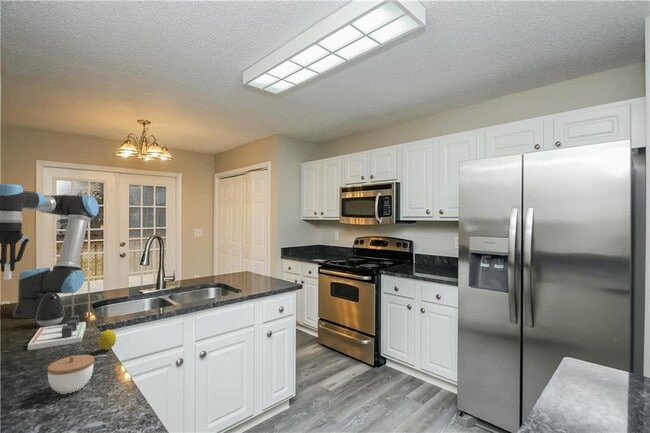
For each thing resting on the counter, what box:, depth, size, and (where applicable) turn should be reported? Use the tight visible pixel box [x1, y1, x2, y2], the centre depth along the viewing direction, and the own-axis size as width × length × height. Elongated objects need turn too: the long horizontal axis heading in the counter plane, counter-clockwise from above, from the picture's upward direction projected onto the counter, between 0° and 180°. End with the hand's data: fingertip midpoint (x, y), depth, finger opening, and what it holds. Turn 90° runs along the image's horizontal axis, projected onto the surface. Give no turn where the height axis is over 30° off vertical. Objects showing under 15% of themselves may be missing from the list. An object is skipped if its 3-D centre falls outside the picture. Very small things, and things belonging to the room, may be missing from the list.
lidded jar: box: [47, 354, 95, 395], centre depth 93 cm, size 11×11×9 cm
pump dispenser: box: [34, 292, 66, 327], centre depth 147 cm, size 10×10×15 cm
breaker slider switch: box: [62, 326, 72, 338], centre depth 128 cm, size 3×3×4 cm
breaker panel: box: [27, 321, 87, 351], centre depth 133 cm, size 22×16×2 cm
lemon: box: [98, 328, 117, 351], centre depth 120 cm, size 6×6×8 cm
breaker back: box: [69, 314, 80, 325], centre depth 142 cm, size 3×3×4 cm
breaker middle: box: [66, 320, 77, 331], centre depth 135 cm, size 3×3×4 cm
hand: (7, 279), depth 130 cm, fingers closed
